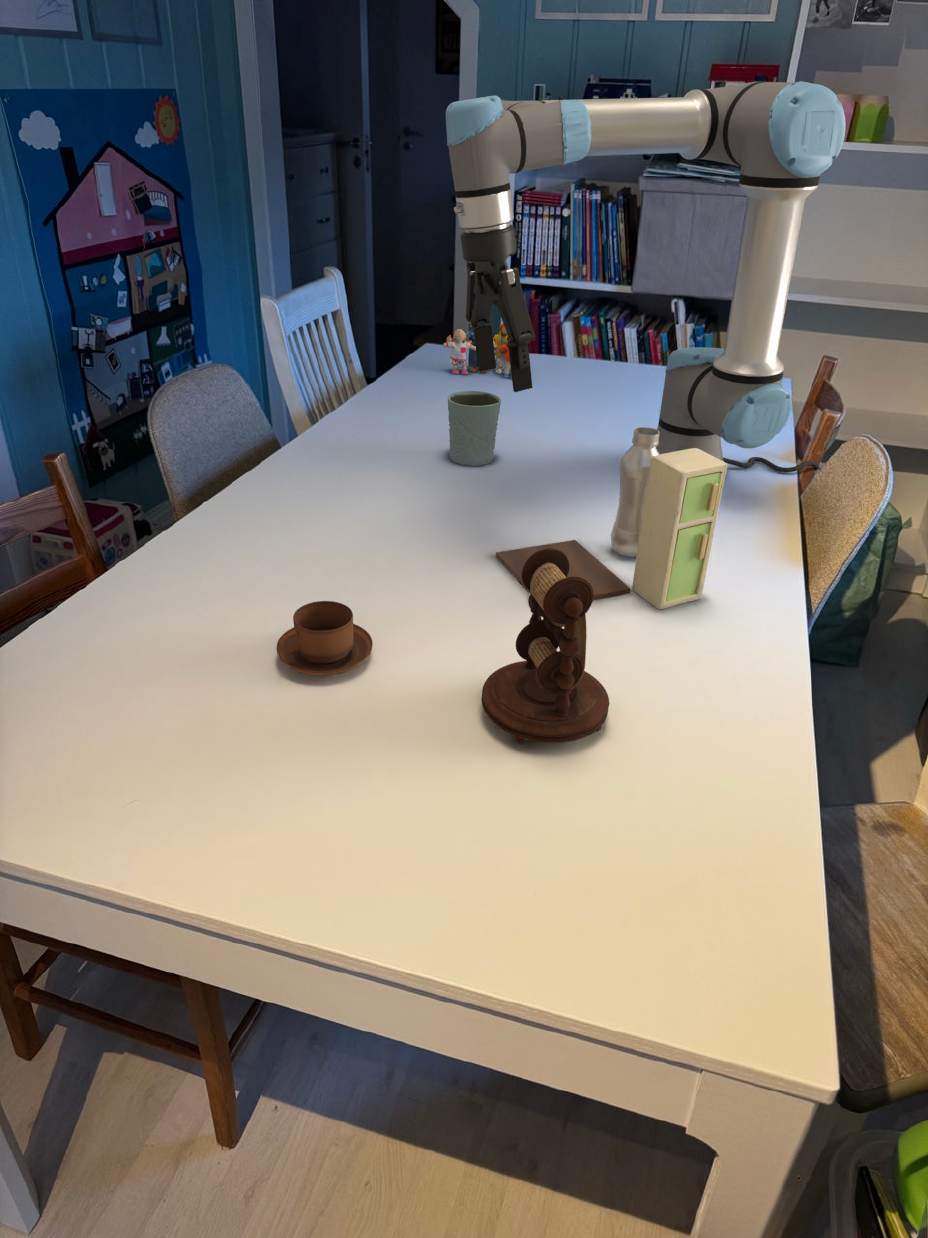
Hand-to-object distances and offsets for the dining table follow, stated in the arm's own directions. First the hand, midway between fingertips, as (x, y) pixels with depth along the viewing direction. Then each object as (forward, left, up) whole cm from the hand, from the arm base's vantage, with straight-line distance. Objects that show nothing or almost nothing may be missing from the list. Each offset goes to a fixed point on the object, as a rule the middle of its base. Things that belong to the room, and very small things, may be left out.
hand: (504, 379), depth 133 cm
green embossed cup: (-9, -32, -25) cm, 42 cm away
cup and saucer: (+36, +27, -25) cm, 51 cm away
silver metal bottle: (-17, +14, -25) cm, 34 cm away
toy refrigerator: (-15, +28, -25) cm, 40 cm away
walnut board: (-3, +17, -25) cm, 31 cm away
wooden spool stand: (+15, +47, -25) cm, 55 cm away
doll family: (-36, -87, -25) cm, 98 cm away
